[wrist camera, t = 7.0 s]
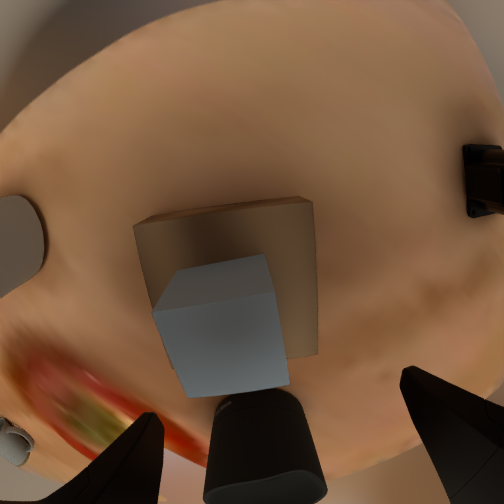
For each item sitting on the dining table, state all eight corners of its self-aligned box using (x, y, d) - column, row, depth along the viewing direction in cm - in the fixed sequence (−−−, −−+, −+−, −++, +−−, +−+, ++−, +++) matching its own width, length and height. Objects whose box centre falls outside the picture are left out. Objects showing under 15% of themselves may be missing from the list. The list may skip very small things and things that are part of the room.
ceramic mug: (22, 444, 29) (9, 467, 21) (-4, 416, 26) (-20, 439, 19) (44, 448, 28) (31, 475, 21) (14, 417, 26) (-3, 444, 18)
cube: (277, 330, 17) (290, 384, 12) (199, 342, 17) (188, 398, 12) (264, 253, 15) (274, 291, 10) (176, 270, 15) (151, 312, 10)
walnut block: (297, 195, 18) (312, 201, 14) (306, 324, 21) (317, 354, 17) (153, 215, 18) (132, 225, 14) (181, 338, 21) (172, 369, 17)
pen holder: (295, 371, 22) (319, 467, 12) (313, 427, 25) (332, 502, 15) (195, 394, 22) (180, 485, 13) (230, 445, 25) (230, 519, 15)
